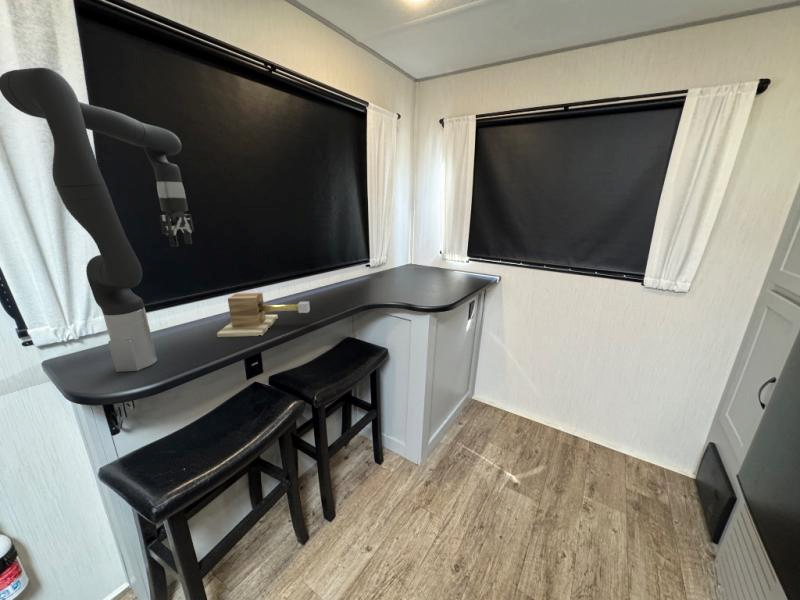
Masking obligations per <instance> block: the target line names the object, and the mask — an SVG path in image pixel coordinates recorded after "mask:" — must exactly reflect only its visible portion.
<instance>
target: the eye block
mask: <svg viewBox="0 0 800 600" xmlns="http://www.w3.org/2000/svg"><path fill="white" fill-rule="evenodd" d="M227 303H228V308H229V309H228V310H229V315H230V320H231V322H229V323H228V324H227V325H225V326H224V327H223V328H222V329H220V330H219V331H217V333H216V335H217V338H229V337H230V338H231V337H234V338H235V337H258V336H259V335H261V336H264V334H265V333H266V332H267V331H268V330H269V329H268V328H271V327H272V325H274V323H275V322H276V321H277V320H276V319H279V316H278V314H266V311H260V312H259V307H258V305H265V304H264V303H265V302H264V294H263V292H236V293H234V294H233V295H230V296H229V297H228V298H227Z"/></svg>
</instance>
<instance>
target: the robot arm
mask: <svg viewBox="0 0 800 600" xmlns="http://www.w3.org/2000/svg"><path fill="white" fill-rule="evenodd" d="M0 93H1V94H2V96H3V98H4V99H5V100H6V101H7V102H8V103H9V104H10V105H11V106H12V107H14V109H17V110H18V111H20V112H21V113H23V114H25V115H27V116H30V117H34V118H41V119H44V120H46V123H47V125H48V128H49V130H50V132H51V136H52V139H53V145H54V146H53V158H52V167H51V168H52V171H51V172H52V179H53V183H54V185H55V187H56V191H57V193H58V194H59V197H60V199H61V201H62V203H63V205H64V207H65V208H66V210H67V211H68V213H69V214H70V215H71V216H72V217H73V218H74V220H75V221H76V222H77V223H78V224H79V225H80V226H81V227H82V228H83V229H84V230H85V231H86V232H87V234H89V236H90V237H91V238H92V240H93V241H94V243H95V245H96V246H97V249H98V251H99V255H95V256H94V257H92V258H90V260H89V261H88V262H87V264H86V270H85V271H86V277H87V278H86V279H87V282H88V283H89V287H90V290H91V292H92V296H93V298H94V301H95V303H96V304H97V306H98V307H99V308H100V309H101V312H102V315H103V318H104V322H105V326H106V330H107V333H108V337H109V339H110V340H109V341H108V342H107V344H108V348H109V351H110V354H111V357H112V361H113V366H114V368H115V372H116V373H117V372H137V371H140V370H142V369H145V368H148V367H150V366H151V365H153V364H156V362H157V361H158V358H157V353H156V349H155V345H154V340H153V338H152V333H151V329H150V324H149V320H148V315H147V312H146V308H145V304H144V300H143V299H142V297H140V296H138V295H137V294H135V293H134V292H133V291H132V290H131V288H134V287H137V286H138V285H139V284H140V283H141V281H142V278H143V268H142V265H141V262H140V260H139V259H138V256H137V254H136V252H135V251H134V249H133V247H132V246H131V244H130V241H129V239H128V238H127V236H126V233H125V231H124V227H123V225H122V223H121V221H120V219H119V216H118V213H117V210H116V209H115V206H114V203H113V200H112V197H111V194H110V191H109V189H108V186H107V185H106V181H105V180H104V178H103V176H102V172H101V170H100V168H99V165H98V161H97V159H96V156H95V153H94V150H93V147H92V145H91V142H90V138H89V134H88V131H87V130H90V131H93V132H96V133H98V134H102V135H104V136H108V137H111V138H114V139H116V140H119V141H122V142H125V143H128V144H129V145H133V146H137V147H140V148H141V147H142V148H143V150H144V152H145V154H146V156H147V158H148V160H149V162H150V164H151V166H152V169H153V170H154V176H155V181H156V190H157V195H158V200H159V204H160V209H161V211H162V212H165V214H161V215H159V221H160V226H161V227H160V228H161V232H162V234H164V235H166V236H168V241H169V245H170V247H173V248H177V247H179V240H178V236H177V231H178V230H181V232H182V233H183V234H182V236H183V240H184V244H186V245H192V244H193V240H192V232H194V231H195V228H194V224H193V218H192V215H191V213H189V214H188V213H185V212H187V211H189V208H188V201H187V197H186V193H185V192H186V191H185V188H184V185H183V181H182V180H183V179H182V175H181V170H180V167H179V166H178V164H175V163H172V162H169V161H168V159H167V156H175V155H178V154H179V153H180V152H181V151H182V142H181V140H180V138H179V137H178V136H177V135H176V134H175V133H174V132H172V131H170V130H168V129H165V128H163V127H160V126H156V125H151V124H147V123H144V122H142V121H139V120H137V119H135V118H133V117H131V116H128V115H126V114H124V113H121V112H117V111H115V110H112V109H107V108H104V107H101V106H96V105H92V104H88V103H84V102H81V101H79V99H78V97H77V94H76V92H75V90H74V88H73V87H72V85H71V84H70V83H69V82H68V80H66V78H65V77H64V76H62V75H61V74H60V73H59V72H57V71H56V70H53V69H51V68H46V67H30V68H29V67H28V68H21V69H13V70H9V71H6V72H4V73H3V74H1V75H0Z"/></svg>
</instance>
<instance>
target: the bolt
mask: <svg viewBox="0 0 800 600" xmlns="http://www.w3.org/2000/svg"><path fill="white" fill-rule="evenodd" d="M258 307H259V312H260V311H265V312H284V311H288V312H291V311H298V314H305V313H306V314H309V312H310V311H311V310H310V309H311V307H310V301H309V300H308V301H306V300H305V301H299V302H298V303H296V304H294V303H292V304H269V305H268V304H264V305H258Z"/></svg>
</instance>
